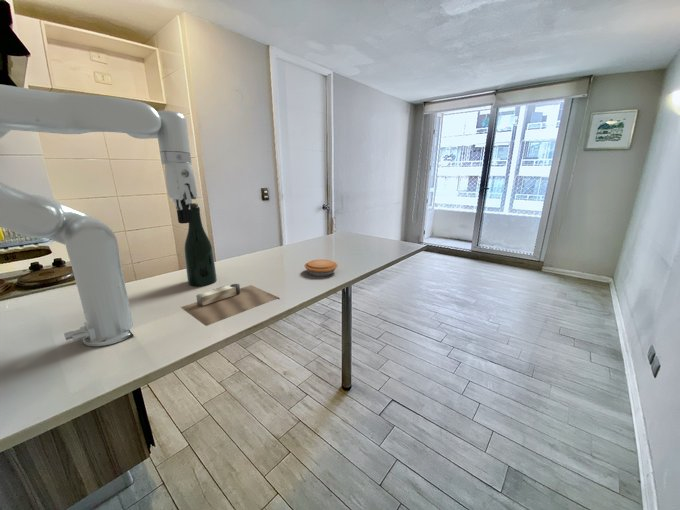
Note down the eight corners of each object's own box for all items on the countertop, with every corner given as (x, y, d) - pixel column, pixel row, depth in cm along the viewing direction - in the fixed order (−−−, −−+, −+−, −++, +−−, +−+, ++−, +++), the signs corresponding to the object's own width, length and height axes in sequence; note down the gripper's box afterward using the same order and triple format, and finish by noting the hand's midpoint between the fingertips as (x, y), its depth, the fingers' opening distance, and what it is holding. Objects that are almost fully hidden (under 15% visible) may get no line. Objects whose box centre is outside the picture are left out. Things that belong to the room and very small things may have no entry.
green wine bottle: (205, 279, 120) (195, 201, 111) (222, 283, 116) (214, 202, 107) (182, 287, 111) (170, 203, 102) (201, 292, 107) (189, 205, 98)
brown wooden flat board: (206, 330, 80) (204, 316, 79) (181, 311, 92) (179, 298, 90) (279, 301, 99) (279, 289, 98) (251, 288, 111) (250, 278, 109)
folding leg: (200, 306, 91) (198, 297, 90) (195, 304, 93) (194, 294, 92) (241, 292, 102) (241, 284, 101) (237, 290, 104) (236, 282, 103)
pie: (300, 269, 134) (299, 259, 133) (329, 265, 141) (329, 256, 139) (310, 280, 121) (310, 269, 120) (343, 275, 127) (343, 264, 126)
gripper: (201, 159, 78) (208, 224, 83) (179, 160, 88) (187, 219, 93) (172, 157, 73) (182, 227, 78) (152, 159, 82) (162, 221, 87)
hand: (185, 222), depth 85 cm, fingers closed
